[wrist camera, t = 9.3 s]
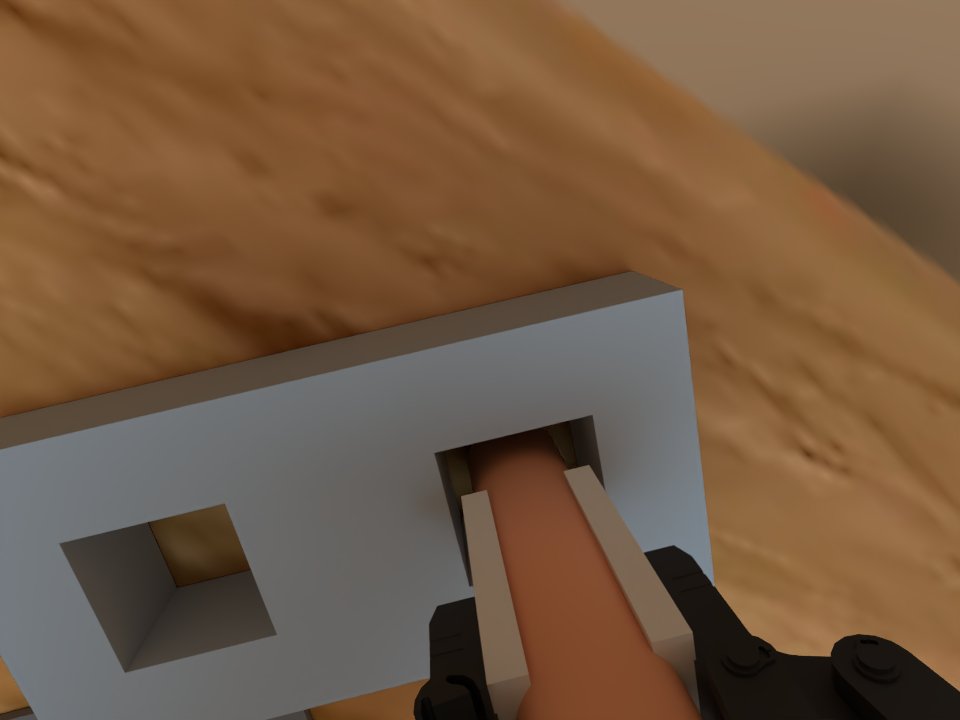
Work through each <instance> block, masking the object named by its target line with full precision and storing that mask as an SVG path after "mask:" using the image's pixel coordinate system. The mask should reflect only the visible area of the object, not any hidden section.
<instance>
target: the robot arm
mask: <svg viewBox="0 0 960 720" xmlns="http://www.w3.org/2000/svg"><path fill="white" fill-rule="evenodd" d="M564 476H565V479H566V481H567V483H568V485H569V487H570V489H571V491H572V493H573V495H574V497H575V499H576V501H577V503H578V505H579V507H580V509H581V511H582V513H583V515H584V517H585V519H586V521H587V523H588V525H589V527H590V529H591V531H592V533H593V535H594V537H595V539H596V541H597V543H598V544H599V546H600V548H601V550H602V552H603V554H604V556H605V558H606V560H607V562H608V564H609V566H610V568H611V570H612V572H613V574H614V576H615V578H616V580H617V582H618V584H619V586H620V588H621V590H622V592H623V594H624V596H625V598H626V600H627V602H628V604H629V606H630V608H631V610H632V612H633V614H634V616H635V618H636V620H637V622H638V624H639V625H640V627H641V629H642V631H643V633H644V635H645V637H646V639H647V641H648V643H649V645H650V647H651V649H652V651H653V653H655V654H657V655H658V656H660V657H662V658H663V659H665V660H666V661H667V662H668V663H670V664H671V665H672V667H673V668H674V669H675V670H676V671H677V673H678V674H679V676H680V677H681V679H682V681H683V683H684V685H685V686H686V688H687V690H688V692H689V694H690V696H691V698H692V700H693V701H694V703H695V705H696V707H697V709H698V711H699V713H700V714H701V716H702V718H703V720H960V692H959V691H958V690H957V689H956V688H954V687H953V686H952V685H951V684H949V683H948V682H947V681H945V680H944V679H943V678H942V677H940V676H939V675H938V674H937V673H935V672H934V671H933V670H931V669H930V668H929V667H928V666H926V665H925V664H924V663H923V662H921V661H920V660H919V659H917V658H916V657H915V656H914V655H912V654H911V653H910V652H909V651H907V650H906V649H904V648H902V647H901V646H899V645H897V644H896V643H894V642H892V641H889V640H886V639H883V638H880V637H877V636H872V635H861V634H857V635H852V636H846V637H843V638H842V639H841V640H839V641H838V642H836V643H835V644H834V647H833V649H832V652H831V657H822V656H798V655H789V654H785V653H782V652H778V651H776V650H775V649H774V647H773V646H772V645H771V644H769V643H767V642H766V641H764V640H762V639H760V638H759V637H756V636H752V635H751V634H750V633H749V632H748V631H747V629H746V628H745V627H744V625H743V624H742V623H741V621H740V620H739V618H738V617H737V616H736V614H735V613H734V612H733V610H732V609H731V608H730V606H729V605H728V604H727V602H726V601H725V600H724V598H723V597H722V596H721V594H720V593H719V592H718V590H717V589H716V588H715V586H714V587H713V585H712V582H711V581H710V580H709V578H708V577H707V576H706V574H704V573H703V570H702V569H701V568H700V566H699V565H698V564H697V562H696V561H695V560H694V558H693V557H692V556H691V555H689V554H688V553H686V552H684V551H683V550H681V549H680V548H678V547H676V546H675V545H672V546H668V547H664V548H660V549H656V550H652V551H648V552H644V553H643V551H642V550H641V548H640V546H639V545H638V543H637V542H636V540H635V538H634V537H633V535H632V534H631V532H630V530H629V529H628V527H627V525H626V524H625V522H624V521H623V519H622V517H621V516H620V514H619V513H618V511H617V509H616V508H615V506H614V504H613V503H612V501H611V500H610V498H609V496H608V495H607V493H606V492H605V490H604V488H603V487H602V485H601V484H600V482H599V480H598V479H597V477H596V475H595V474H594V472H593V471H592V469H591V467H590V466H589V465H587V466H583V467H579V468H575V469H571V470H566V471H564ZM461 499H462V506H463V514H464V521H465V528H466V536H467V543H468V550H469V558H470V565H471V572H472V580H473V587H474V594H475V596H474V597H470V598H466V599H462V600H458V601H454V602H451V603H447V604H443V605H439V606H437V607H436V609H435V612H434V614H433V616H432V618H431V620H430V622H429V643H430V645H429V650H430V680H429V681H428V682H427V683H426V684H425V685H424V686H423V687H422V688H421V690H420V691H419V693H418V695H417V697H416V699H415V704H414V716H415V719H416V720H516V718H517V712H518V709H519V706H520V703H521V701H522V699H523V697H524V695H525V693H526V692H527V690H528V689H529V687H530V686H531V682H530V678H529V673H528V669H527V664H526V660H525V656H524V651H523V647H522V642H521V638H520V633H519V629H518V625H517V620H516V616H515V611H514V607H513V603H512V598H511V594H510V589H509V585H508V581H507V576H506V572H505V567H504V563H503V558H502V554H501V550H500V545H499V541H498V536H497V532H496V528H495V523H494V519H493V514H492V510H491V505H490V501H489V497H488V492H487V490H485V491H481V492H477V493H472V494H468V495H464V496H461Z"/></svg>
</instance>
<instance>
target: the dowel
mask: <svg viewBox="0 0 960 720" xmlns="http://www.w3.org/2000/svg"><path fill="white" fill-rule="evenodd" d="M468 466H469V472H470V478H471V483H472V489H473V493H477V492H481V491H485V490H487V492H488V497H489V501H490V505H491V510H492V514H493V519H494V523H495V528H496V532H497V536H498V541H499V545H500V550H501V554H502V558H503V563H504V567H505V572H506V576H507V581H508V585H509V589H510V594H511V598H512V603H513V607H514V611H515V616H516V620H517V625H518V629H519V633H520V638H521V642H522V647H523V651H524V656H525V660H526V664H527V669H528V673H529V678H530V682H531V686H530V687H529V689H528V690H527V692H526V693H525V695H524V697H523V699H522V701H521V703H520V706H519V709H518V712H517V718H516V720H703V718H702V716H701V714H700V713H699V711H698V709H697V707H696V705H695V703H694V701H693V700H692V698H691V696H690V694H689V692H688V690H687V688H686V686H685V685H684V683H683V681H682V679H681V677H680V676H679V674H678V673H677V671H676V670H675V669H674V668H673V667H672V665H671V664H670V663H668V662H667V661H666V660H665V659H663V658H662V657H660V656H658V655H657V654H655V653H653V651H652V649H651V647H650V645H649V643H648V641H647V639H646V637H645V635H644V633H643V631H642V629H641V627H640V625H639V624H638V622H637V620H636V618H635V616H634V614H633V612H632V610H631V608H630V606H629V604H628V602H627V600H626V598H625V596H624V594H623V592H622V590H621V588H620V586H619V584H618V582H617V580H616V578H615V576H614V574H613V572H612V570H611V568H610V566H609V564H608V562H607V560H606V558H605V556H604V554H603V552H602V550H601V548H600V546H599V544H598V543H597V541H596V539H595V537H594V535H593V533H592V531H591V529H590V527H589V525H588V523H587V521H586V519H585V517H584V515H583V513H582V511H581V509H580V507H579V505H578V503H577V501H576V499H575V497H574V495H573V493H572V491H571V489H570V487H569V485H568V483H567V481H566V479H565V476H564V471H566V470H569V469H568V467H567V465H566V463H565V462H564V460H563V458H562V456H561V454H560V452H559V450H558V449H557V447H556V445H555V443H554V441H553V439H552V438H551V436H550V435H549V433H548V432H547V431H546V430H545V429H544V428H543V427H540V428H536V429H532V430H528V431H524V432H519V433H515V434H511V435H507V436H503V437H499V438H495V439H490V440H486V441H482V442H478V443H474V444H472V446H471V448H470V452H469V457H468Z"/></svg>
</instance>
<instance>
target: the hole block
mask: <svg viewBox="0 0 960 720" xmlns="http://www.w3.org/2000/svg"><path fill="white" fill-rule="evenodd" d="M565 421H570V427H571V432H572V438H573V443H574V449H575V454H576V460H577V465H578V468H579V467H583V466H587V465H589V466H590V467H591V469H592V471H593V472H594V474H595V475H596V477H597V479H598V480H599V482H600V484H601V485H602V487H603V488H604V490H605V492H606V493H607V495H608V496H609V498H610V500H611V501H612V503H613V504H614V506H615V508H616V509H617V511H618V513H619V514H620V516H621V517H622V519H623V521H624V522H625V524H626V525H627V527H628V529H629V530H630V532H631V534H632V535H633V537H634V538H635V540H636V542H637V543H638V545H639V546H640V548H641V550H642V551H643V553H644V552H648V551H652V550H656V549H660V548H664V547H668V546H672V545H675V546H676V547H678V548H680V549H681V550H683V551H684V552H686V553H688V554H689V555H691V556H692V557H693V558H694V560H695V561H696V562H697V564H698V565H699V566H700V568H701V569H702V570H703V573H704V574H706V576H707V577H708V578H709V580H710V581H711V582H712V585H713V587H714V586H715V585H714V575H713V566H712V557H711V548H710V539H709V529H708V520H707V511H706V502H705V493H704V484H703V474H702V465H701V456H700V447H699V438H698V429H697V419H696V410H695V401H694V392H693V383H692V373H691V364H690V355H689V346H688V337H687V328H686V318H685V309H684V300H683V291H682V289H679V288H677V287H674V286H671V285H669V284H666V283H663V282H661V281H658V280H655V279H652V278H650V277H647V276H644V275H642V274H639V273H636V272H634V271H630V272H625V273H621V274H617V275H613V276H608V277H604V278H600V279H595V280H591V281H587V282H582V283H578V284H574V285H570V286H565V287H561V288H557V289H552V290H548V291H544V292H540V293H535V294H531V295H527V296H522V297H518V298H514V299H509V300H505V301H501V302H497V303H492V304H488V305H484V306H479V307H475V308H471V309H467V310H462V311H458V312H454V313H449V314H445V315H441V316H436V317H432V318H428V319H424V320H419V321H415V322H411V323H406V324H402V325H398V326H393V327H389V328H385V329H381V330H376V331H372V332H368V333H363V334H359V335H355V336H351V337H346V338H342V339H338V340H333V341H329V342H325V343H320V344H316V345H312V346H308V347H303V348H299V349H295V350H290V351H286V352H282V353H278V354H273V355H269V356H265V357H260V358H256V359H252V360H247V361H243V362H239V363H235V364H230V365H226V366H222V367H217V368H213V369H209V370H205V371H200V372H196V373H192V374H187V375H183V376H179V377H174V378H170V379H166V380H162V381H157V382H153V383H149V384H144V385H140V386H136V387H131V388H127V389H123V390H119V391H114V392H110V393H106V394H101V395H97V396H93V397H89V398H84V399H80V400H76V401H71V402H67V403H63V404H58V405H54V406H50V407H46V408H41V409H37V410H33V411H28V412H24V413H20V414H16V415H11V416H7V417H3V418H0V656H1V657H2V659H3V661H4V663H5V664H6V666H7V668H8V669H9V671H10V673H11V675H12V676H13V678H14V680H15V681H16V683H17V685H18V687H19V688H20V690H21V692H22V693H23V695H24V697H25V698H26V700H27V702H28V704H29V705H30V707H31V709H32V710H33V712H34V714H35V716H36V717H37V719H38V720H267V719H271V718H274V717H278V716H282V715H286V714H290V713H294V712H298V711H302V710H306V709H310V708H314V707H318V706H322V705H325V704H329V703H333V702H337V701H341V700H345V699H349V698H353V697H357V696H361V695H365V694H369V693H373V692H376V691H380V690H384V689H388V688H392V687H396V686H400V685H404V684H408V683H412V682H416V681H420V680H424V679H427V678H430V650H429V645H430V643H429V622H430V620H431V618H432V616H433V614H434V612H435V609H436V607H437V606H439V605H443V604H447V603H451V602H454V601H458V600H462V599H466V598H470V597H474V596H475V594H474V587H473V580H472V572H471V565H470V558H469V550H468V543H467V536H466V528H465V521H464V518H461V517H460V513H459V509H458V505H457V501H456V497H455V493H454V490H453V486H452V482H451V478H450V474H449V470H448V466H447V462H446V459H445V455H444V451H445V450H449V449H453V448H457V447H461V446H466V445H470V444H474V443H478V442H482V441H486V440H490V439H495V438H499V437H503V436H507V435H511V434H515V433H519V432H524V431H528V430H532V429H536V428H540V427H544V426H548V425H553V424H557V423H561V422H565ZM221 504H225V505H226V508H227V510H228V513H229V515H230V518H231V520H232V523H233V525H234V528H235V530H236V533H237V535H238V538H239V540H240V543H241V546H242V548H243V551H244V553H245V556H246V558H247V561H248V563H249V566H250V568H251V570H248V571H244V572H240V573H236V574H232V575H228V576H224V577H220V578H216V579H212V580H208V581H204V582H200V583H195V584H191V585H187V586H183V587H179V588H177V587H176V584H175V582H174V580H173V578H172V575H171V573H170V571H169V569H168V567H167V564H166V562H165V560H164V558H163V555H162V553H161V551H160V549H159V546H158V544H157V542H156V540H155V538H154V535H153V533H152V531H151V529H150V526H149V524H148V522H150V521H155V520H159V519H163V518H167V517H171V516H175V515H179V514H184V513H188V512H192V511H196V510H200V509H204V508H208V507H213V506H217V505H221Z"/></svg>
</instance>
